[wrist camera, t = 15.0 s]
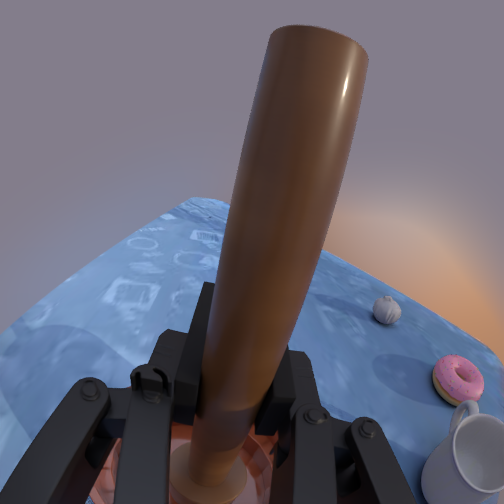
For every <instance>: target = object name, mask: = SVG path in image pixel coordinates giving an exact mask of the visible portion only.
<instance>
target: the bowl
mask: <svg viewBox="0 0 504 504" xmlns="http://www.w3.org/2000/svg"><path fill="white" fill-rule="evenodd" d="M130 387H132V386H130ZM127 388H129V387H127ZM192 429H193V426H190V425H185V424H181V423H176V422H173V423H172V435H171V452H170V455H171V454H172V453H173V451H174V450H175V449H177V448H178V447H179V446H181V445H183V444H185V443H188V442H191V437H192ZM277 440H278V430H277V432H276V433H275V435H274V436H263V435H255V424H254V423H253V425H252V427H251V430H250V432H249V434H248V436H247V438H246V440H245V442H244V444H243V446H242V448H241V450H240V452H239V454H238V455H239V456H240V457H241V459H242V460H243V462H244V464H245V466H246V469H247V482H246V485H245V487H244V489H243V491H242V492H241V493H240V494H239V496H238V497H237V498H236V499H235V500H234V501H233V502H232V503H231V504H269V497H270V488H271V478H272V468H273V458H274V453H273V454H272V455H270V454H269V453H270V451H271V449H272V447H273V446H274V445H275V443H276V442H277ZM121 443H122V438H118V439H117V441H116V443H115V445H114V447H113V449H112V450H111V452H110V454H109V456H108V458H107V460H106V462H105V464H104V466H103V468H102V470H101V472H100V474H99V476H98V478H97V480H96V482H95V484H94V486H93V488H92V490H91V492H90V494H89V495H90V497H91V499H92V501H93V502H94V504H113V499H114V490H115V482H116V475H117V468H118V461H119V455H120V449H121ZM169 504H178V503H177V502H176V501H175V500H174V498H173V497H172V495H171V493H170V491H169Z"/></svg>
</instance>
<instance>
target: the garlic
mask: <svg viewBox="0 0 504 504" xmlns="http://www.w3.org/2000/svg"><path fill="white" fill-rule="evenodd" d="M373 313H374V316H375V318H376V319H377V320H378V321H379V322H381V323H383V324H391V323H394V322H396V321H397V320H398V319H399V317H400V315H401V309H400V307H399V305H398V304H397V303H396V302H395V301H394V300H392V298H391V297H390V296H384V298H378V299H377V300H376V301H375V303H374V306H373Z"/></svg>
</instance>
